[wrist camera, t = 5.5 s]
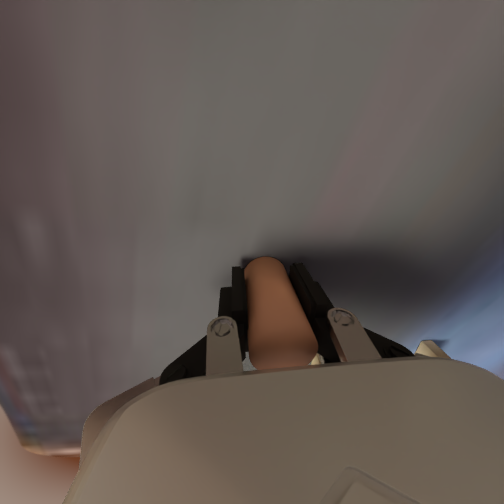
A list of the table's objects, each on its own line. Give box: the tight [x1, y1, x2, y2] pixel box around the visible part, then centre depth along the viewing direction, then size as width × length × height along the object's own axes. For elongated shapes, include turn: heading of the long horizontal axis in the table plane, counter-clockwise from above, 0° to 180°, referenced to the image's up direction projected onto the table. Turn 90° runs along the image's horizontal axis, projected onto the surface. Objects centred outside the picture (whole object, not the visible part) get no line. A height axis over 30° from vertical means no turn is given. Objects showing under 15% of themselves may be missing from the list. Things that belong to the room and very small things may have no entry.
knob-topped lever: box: [244, 257, 318, 370], centre depth 15 cm, size 18×6×6 cm, turn 1°
